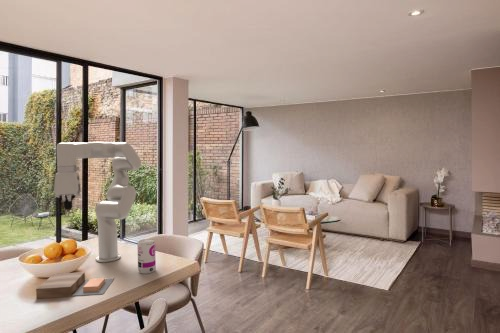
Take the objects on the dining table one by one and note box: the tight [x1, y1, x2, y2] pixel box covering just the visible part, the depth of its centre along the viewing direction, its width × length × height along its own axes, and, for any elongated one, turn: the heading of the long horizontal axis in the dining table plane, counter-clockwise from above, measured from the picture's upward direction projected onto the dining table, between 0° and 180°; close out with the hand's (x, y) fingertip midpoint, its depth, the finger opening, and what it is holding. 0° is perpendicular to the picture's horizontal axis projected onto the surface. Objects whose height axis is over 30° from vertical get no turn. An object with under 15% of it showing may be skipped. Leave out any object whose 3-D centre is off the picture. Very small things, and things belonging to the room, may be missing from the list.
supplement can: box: [137, 238, 157, 275], centre depth 161 cm, size 8×8×15 cm
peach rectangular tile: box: [83, 277, 106, 292], centre depth 142 cm, size 9×6×2 cm, turn 7°
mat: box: [71, 278, 115, 297], centre depth 143 cm, size 16×12×1 cm
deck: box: [35, 271, 86, 299], centre depth 141 cm, size 16×13×4 cm
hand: (68, 209), depth 152 cm, fingers closed
